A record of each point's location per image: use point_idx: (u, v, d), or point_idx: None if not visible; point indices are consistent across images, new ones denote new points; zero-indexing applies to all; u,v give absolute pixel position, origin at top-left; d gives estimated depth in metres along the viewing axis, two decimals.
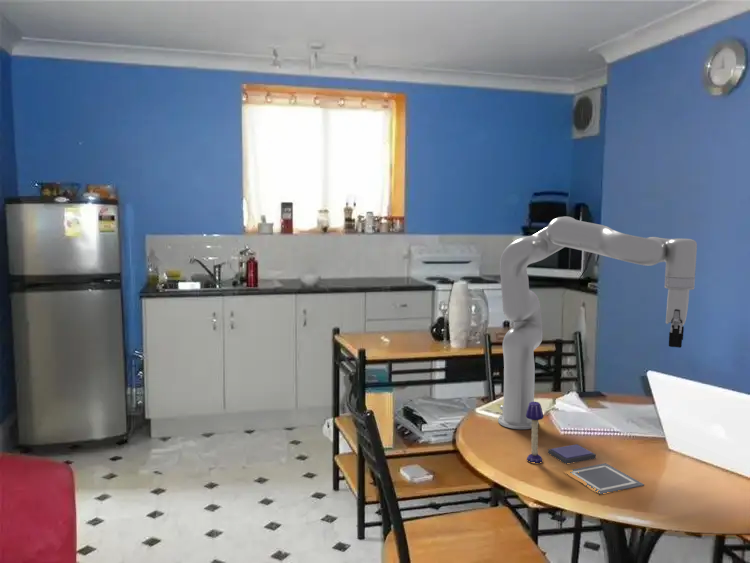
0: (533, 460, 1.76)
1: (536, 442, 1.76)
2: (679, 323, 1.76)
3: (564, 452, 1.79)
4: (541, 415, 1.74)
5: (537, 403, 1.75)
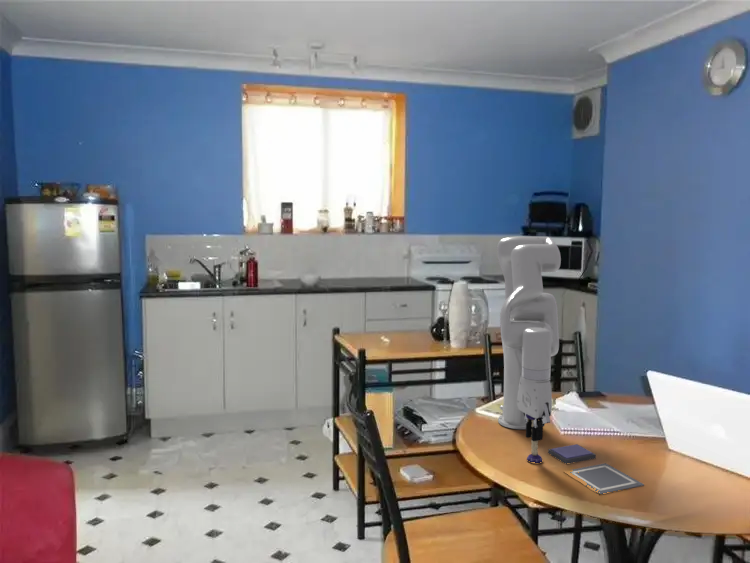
0: (533, 460, 1.76)
1: (536, 442, 1.76)
2: (542, 417, 1.74)
3: (564, 452, 1.79)
4: None
5: None
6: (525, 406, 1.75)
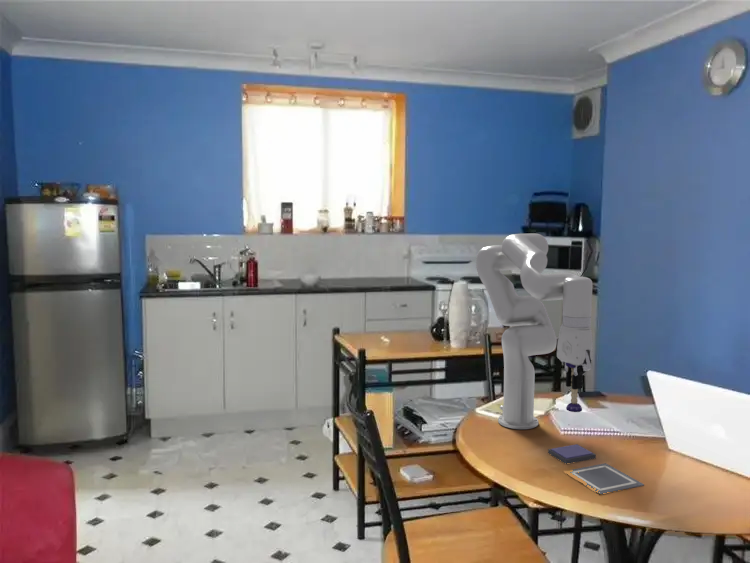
0: (573, 408, 1.77)
1: (576, 390, 1.78)
2: (583, 365, 1.75)
3: (564, 452, 1.79)
4: None
5: None
6: (565, 354, 1.76)
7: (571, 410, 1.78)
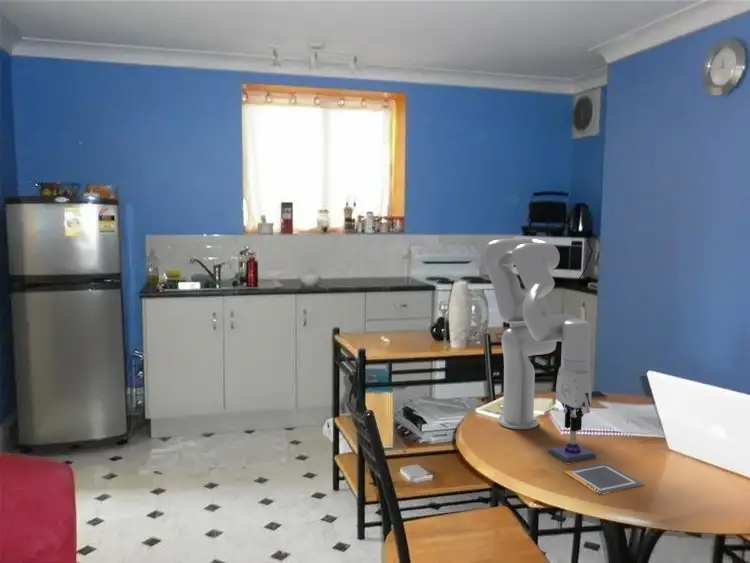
0: (572, 449, 1.79)
1: (575, 432, 1.79)
2: (582, 408, 1.77)
3: (564, 452, 1.79)
4: None
5: None
6: (564, 396, 1.78)
7: (570, 451, 1.79)
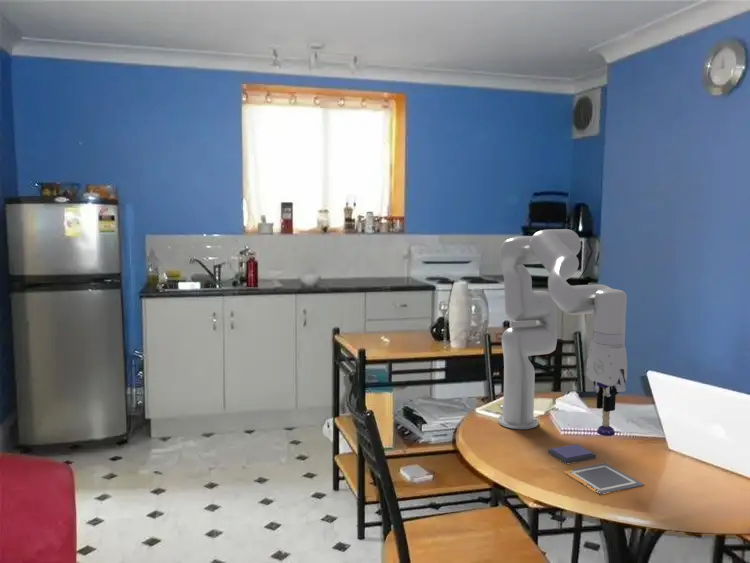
0: (605, 432, 1.63)
1: (608, 412, 1.63)
2: (616, 386, 1.61)
3: (564, 452, 1.79)
4: None
5: None
6: (596, 373, 1.62)
7: (603, 434, 1.63)
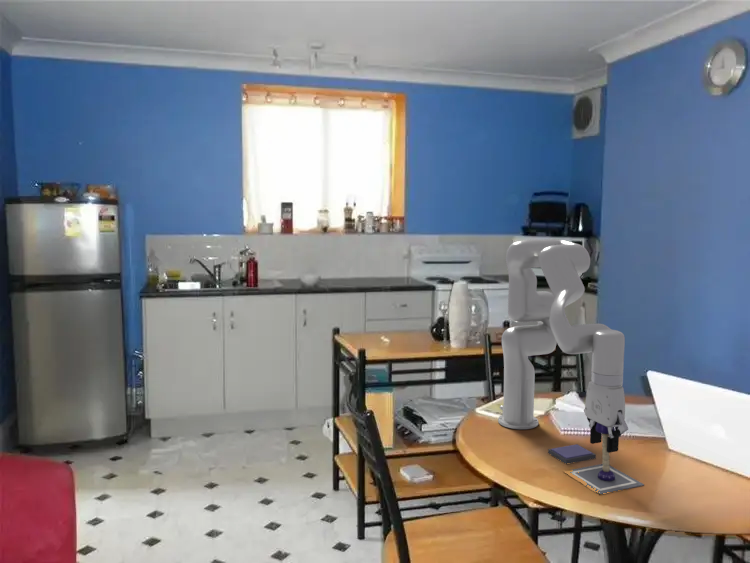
0: (605, 477, 1.64)
1: (608, 457, 1.65)
2: (617, 426, 1.61)
3: (564, 452, 1.79)
4: (613, 428, 1.63)
5: None
6: (594, 413, 1.64)
7: (603, 479, 1.64)
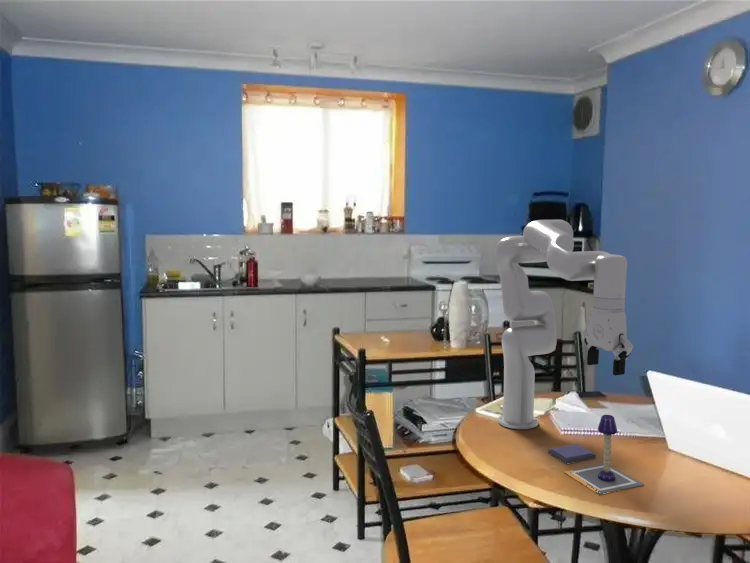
0: (606, 477, 1.64)
1: (609, 458, 1.64)
2: (621, 348, 1.60)
3: (564, 452, 1.79)
4: (615, 429, 1.62)
5: (611, 416, 1.63)
6: (596, 338, 1.63)
7: (603, 479, 1.64)
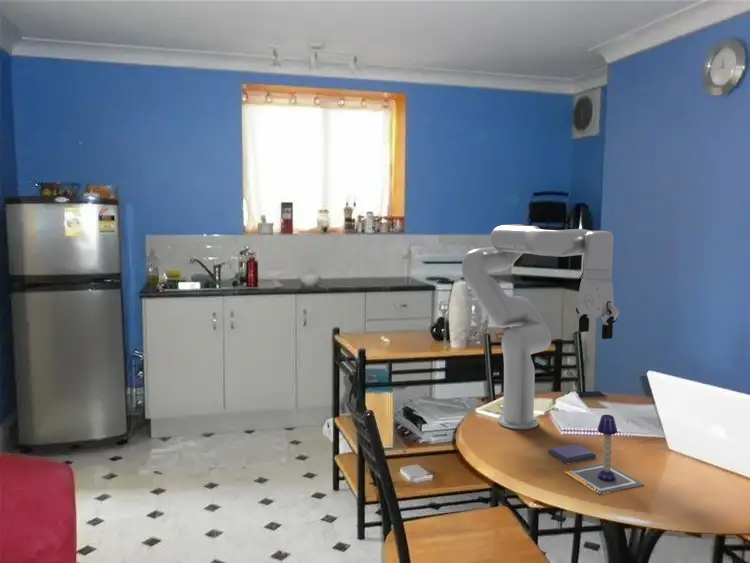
0: (606, 477, 1.64)
1: (609, 458, 1.64)
2: (609, 314, 1.78)
3: (564, 452, 1.79)
4: (615, 429, 1.62)
5: (610, 416, 1.63)
6: (586, 307, 1.81)
7: (603, 479, 1.64)
